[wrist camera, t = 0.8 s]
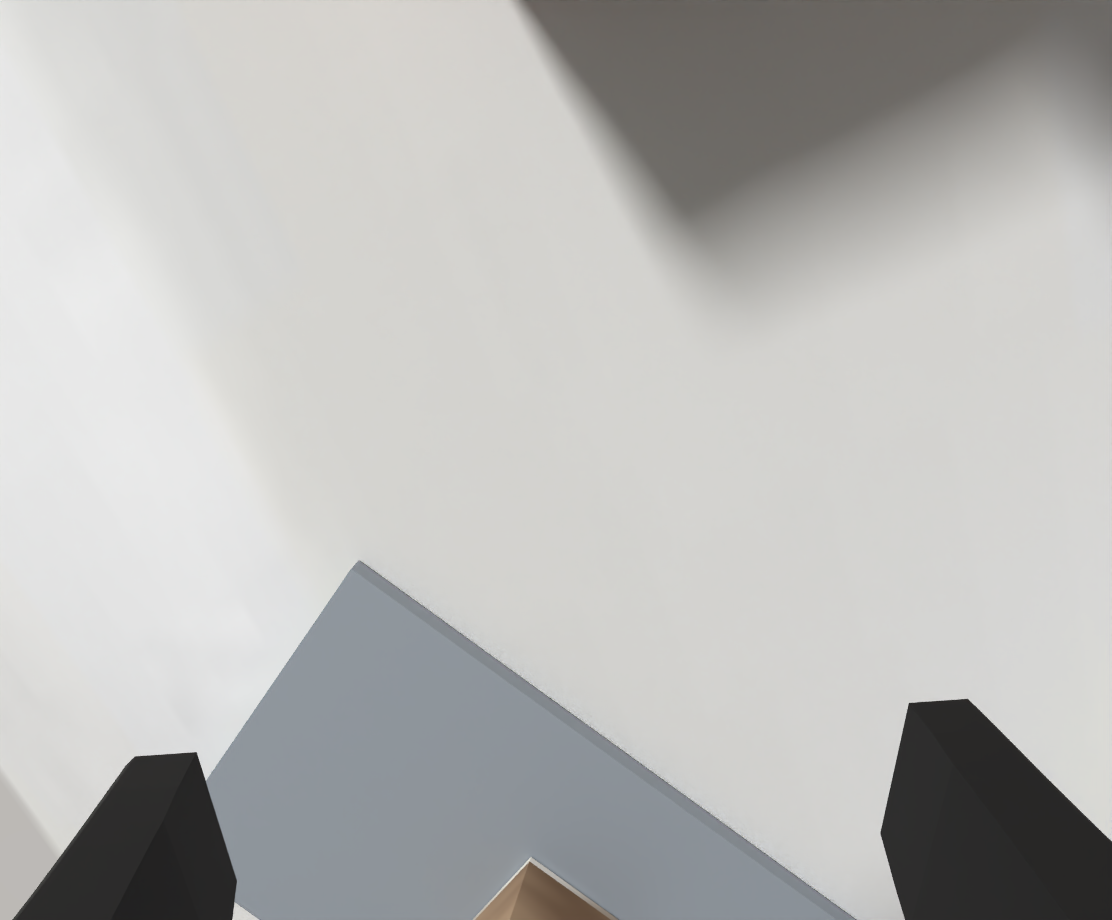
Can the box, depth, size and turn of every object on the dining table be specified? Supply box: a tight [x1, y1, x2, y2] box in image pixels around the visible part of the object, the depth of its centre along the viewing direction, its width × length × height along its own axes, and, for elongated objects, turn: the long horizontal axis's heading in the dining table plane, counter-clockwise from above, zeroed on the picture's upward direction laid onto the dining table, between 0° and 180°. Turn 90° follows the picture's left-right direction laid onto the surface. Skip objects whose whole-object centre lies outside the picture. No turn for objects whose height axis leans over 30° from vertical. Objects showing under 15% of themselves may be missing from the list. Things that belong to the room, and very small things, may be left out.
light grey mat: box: [206, 561, 856, 920], centre depth 34 cm, size 20×14×1 cm
